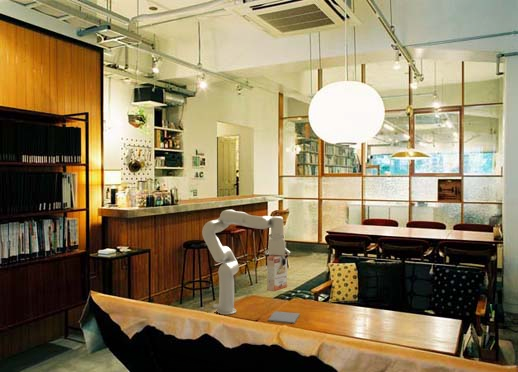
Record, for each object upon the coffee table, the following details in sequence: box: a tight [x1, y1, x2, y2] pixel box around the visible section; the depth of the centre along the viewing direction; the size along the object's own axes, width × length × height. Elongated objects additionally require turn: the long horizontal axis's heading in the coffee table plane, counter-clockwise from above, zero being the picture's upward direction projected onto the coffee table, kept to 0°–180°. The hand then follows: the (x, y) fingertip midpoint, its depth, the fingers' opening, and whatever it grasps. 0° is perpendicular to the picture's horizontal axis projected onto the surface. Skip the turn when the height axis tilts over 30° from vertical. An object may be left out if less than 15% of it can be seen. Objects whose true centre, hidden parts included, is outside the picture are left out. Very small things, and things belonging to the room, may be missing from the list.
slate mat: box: [267, 311, 301, 325], centre depth 268 cm, size 16×18×1 cm
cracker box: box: [266, 253, 288, 292], centre depth 269 cm, size 14×6×21 cm, turn 143°
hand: (277, 264), depth 269 cm, fingers closed on cracker box, 7 cm apart
